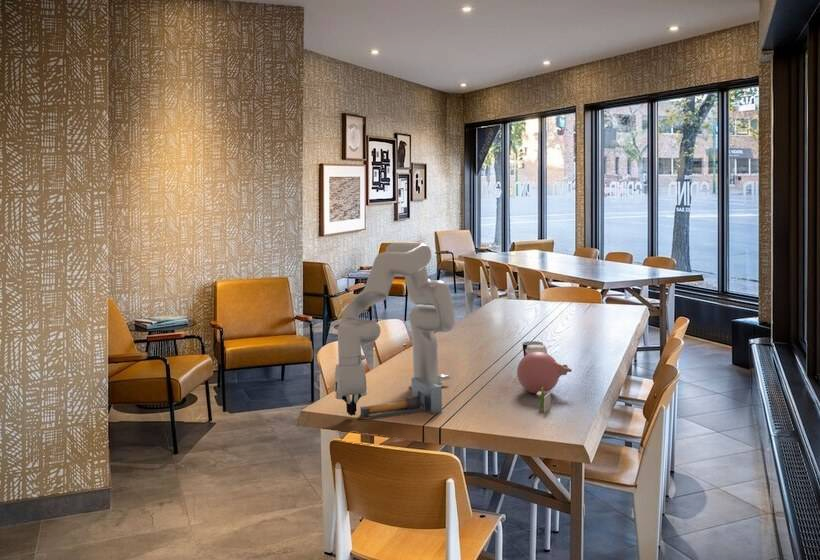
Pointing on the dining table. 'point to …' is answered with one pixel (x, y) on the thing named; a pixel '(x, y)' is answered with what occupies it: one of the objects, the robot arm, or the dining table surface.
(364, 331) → the robot arm
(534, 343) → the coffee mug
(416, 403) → the hammer
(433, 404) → the housing
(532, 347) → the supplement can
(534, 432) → the dining table surface
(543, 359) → the pink bulb shape
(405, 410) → the guide
